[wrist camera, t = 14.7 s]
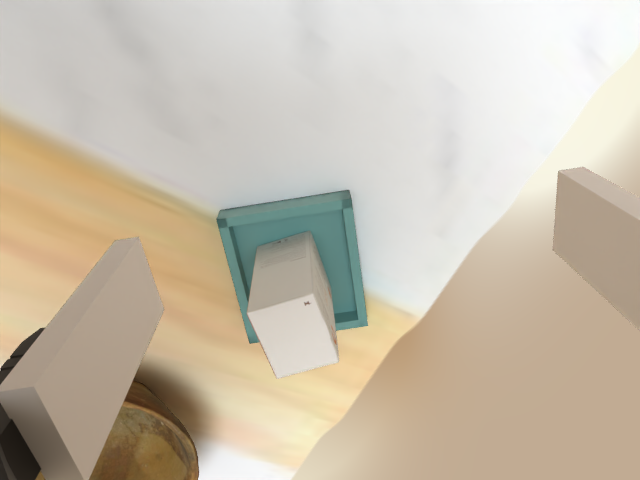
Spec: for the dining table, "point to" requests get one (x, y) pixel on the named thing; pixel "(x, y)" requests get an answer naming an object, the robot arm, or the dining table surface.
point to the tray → (290, 219)
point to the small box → (293, 306)
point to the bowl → (145, 443)
